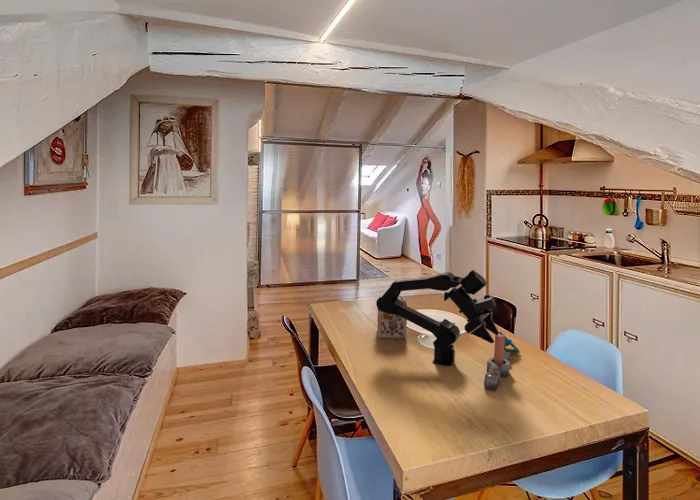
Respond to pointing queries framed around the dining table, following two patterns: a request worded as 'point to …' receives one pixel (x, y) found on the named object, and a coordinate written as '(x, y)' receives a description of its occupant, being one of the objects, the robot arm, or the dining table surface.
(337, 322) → the dining table surface
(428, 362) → the dining table surface
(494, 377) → the grey jointed bar
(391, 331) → the decorative jar
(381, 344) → the dining table surface
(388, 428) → the dining table surface
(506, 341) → the gear
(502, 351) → the pin
